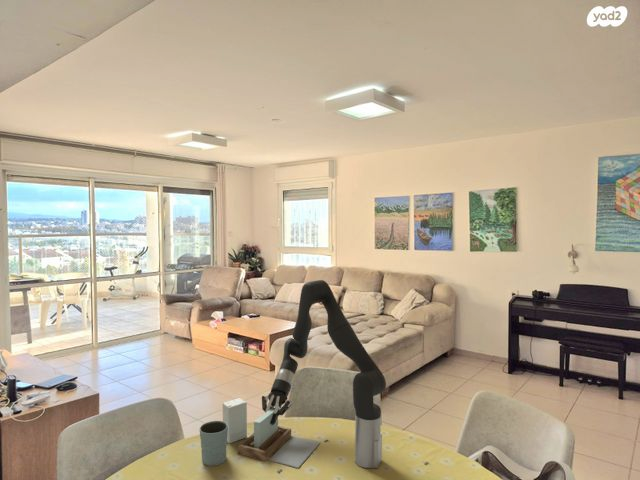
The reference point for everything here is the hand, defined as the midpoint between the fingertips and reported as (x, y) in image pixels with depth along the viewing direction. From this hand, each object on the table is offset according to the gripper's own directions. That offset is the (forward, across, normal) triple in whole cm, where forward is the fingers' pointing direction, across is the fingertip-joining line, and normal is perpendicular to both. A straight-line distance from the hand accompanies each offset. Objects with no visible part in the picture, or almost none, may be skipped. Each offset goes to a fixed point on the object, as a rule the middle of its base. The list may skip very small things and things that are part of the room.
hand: (268, 423), depth 163 cm
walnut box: (+7, 0, +4) cm, 8 cm away
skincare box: (+7, -14, +4) cm, 16 cm away
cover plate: (+5, 0, +3) cm, 6 cm away
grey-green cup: (+19, -12, -8) cm, 24 cm away
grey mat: (+7, +13, +4) cm, 15 cm away
